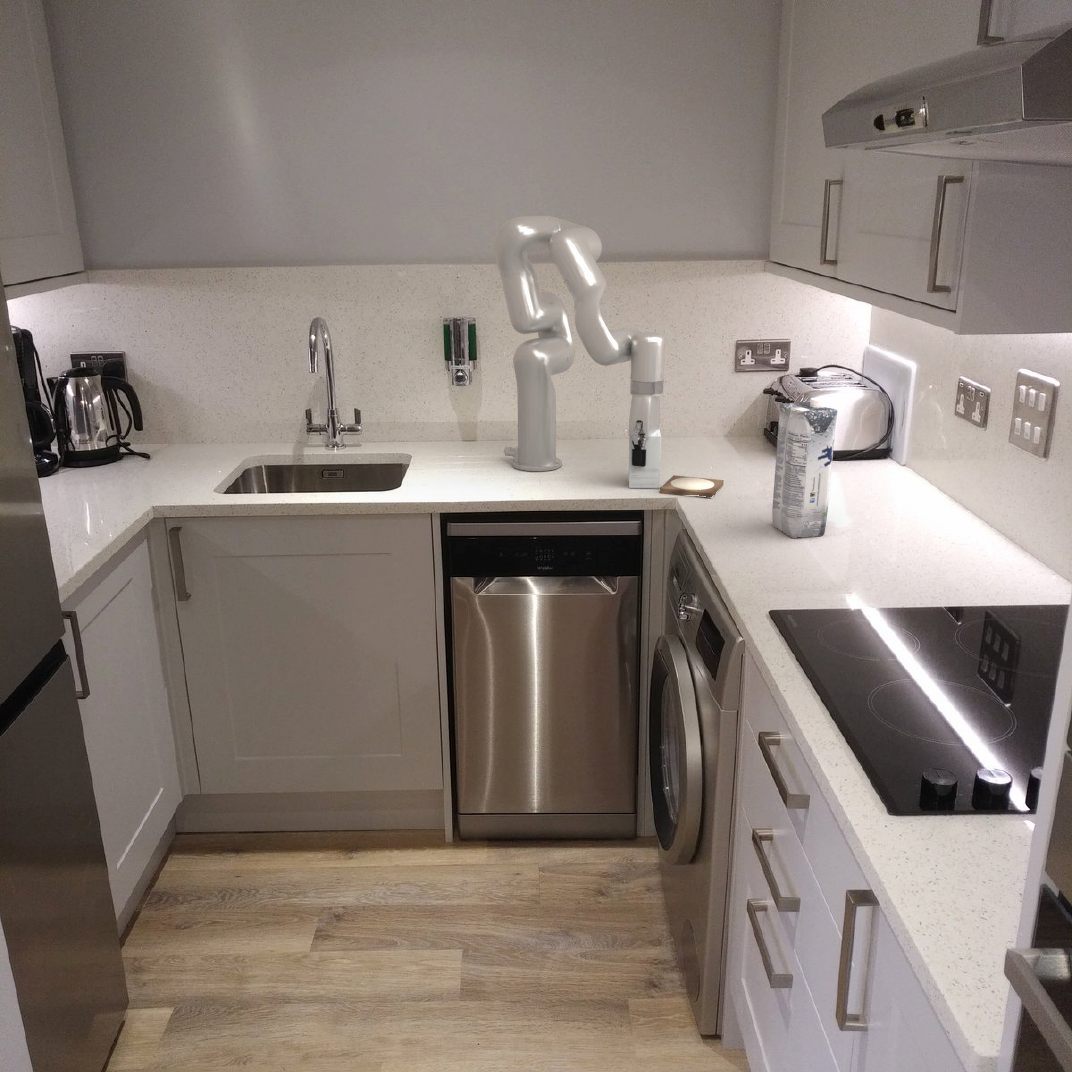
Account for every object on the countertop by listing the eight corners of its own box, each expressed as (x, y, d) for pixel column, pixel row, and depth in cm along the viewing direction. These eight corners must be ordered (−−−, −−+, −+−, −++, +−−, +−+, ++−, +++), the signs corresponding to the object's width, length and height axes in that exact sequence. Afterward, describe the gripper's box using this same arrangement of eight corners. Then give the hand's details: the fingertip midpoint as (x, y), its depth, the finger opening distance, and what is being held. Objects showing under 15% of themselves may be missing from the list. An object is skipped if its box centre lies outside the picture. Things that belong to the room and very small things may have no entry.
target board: (659, 493, 232) (660, 487, 231) (673, 480, 242) (673, 474, 242) (711, 498, 227) (712, 492, 227) (723, 485, 238) (723, 479, 238)
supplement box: (659, 480, 242) (661, 428, 238) (659, 489, 235) (661, 435, 231) (628, 480, 242) (629, 428, 238) (627, 488, 235) (629, 435, 231)
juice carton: (791, 541, 199) (802, 405, 191) (765, 525, 209) (775, 395, 200) (831, 537, 202) (844, 402, 193) (804, 521, 211) (815, 393, 203)
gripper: (641, 380, 240) (639, 451, 246) (619, 393, 225) (617, 468, 231) (672, 382, 238) (669, 454, 243) (652, 395, 222) (649, 471, 228)
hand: (644, 461), depth 237 cm, fingers closed on supplement box, 8 cm apart
